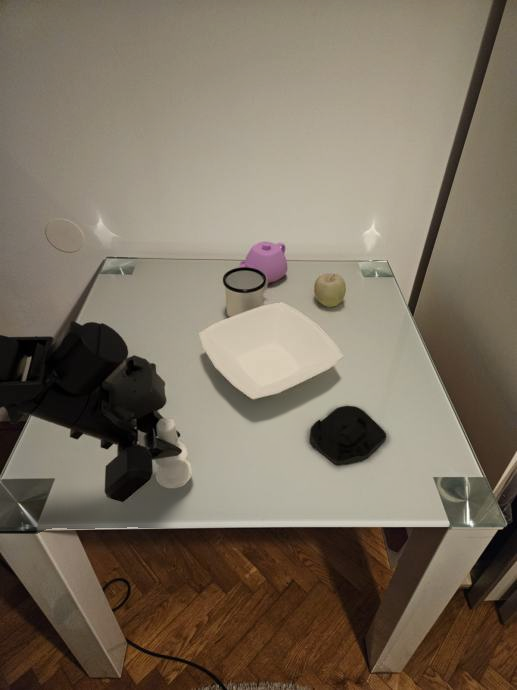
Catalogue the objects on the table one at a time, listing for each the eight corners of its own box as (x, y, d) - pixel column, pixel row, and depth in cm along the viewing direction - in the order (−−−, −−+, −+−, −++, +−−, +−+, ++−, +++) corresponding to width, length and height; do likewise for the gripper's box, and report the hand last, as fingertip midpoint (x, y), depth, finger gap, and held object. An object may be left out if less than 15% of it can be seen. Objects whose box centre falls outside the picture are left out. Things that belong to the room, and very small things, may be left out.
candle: (149, 470, 65) (136, 419, 57) (179, 451, 68) (171, 400, 60) (168, 495, 62) (157, 445, 54) (199, 474, 65) (193, 424, 57)
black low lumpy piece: (346, 401, 80) (350, 383, 76) (392, 434, 74) (398, 415, 71) (301, 437, 74) (304, 419, 70) (348, 476, 68) (353, 458, 65)
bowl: (190, 353, 89) (188, 332, 85) (283, 317, 98) (285, 296, 95) (247, 428, 75) (247, 407, 71) (350, 377, 84) (354, 356, 80)
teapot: (298, 275, 111) (301, 242, 105) (254, 297, 104) (255, 263, 98) (270, 259, 117) (271, 227, 111) (227, 279, 110) (225, 246, 103)
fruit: (350, 302, 103) (355, 273, 98) (331, 315, 99) (335, 286, 94) (325, 289, 107) (329, 260, 102) (305, 301, 103) (308, 272, 98)
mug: (246, 330, 95) (245, 296, 89) (215, 312, 99) (213, 278, 93) (280, 306, 101) (282, 272, 95) (250, 290, 106) (250, 257, 100)
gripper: (115, 429, 42) (229, 472, 52) (118, 314, 56) (208, 364, 65) (53, 487, 46) (170, 517, 55) (70, 367, 60) (161, 407, 69)
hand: (179, 444), depth 61 cm, fingers closed on candle, 2 cm apart
